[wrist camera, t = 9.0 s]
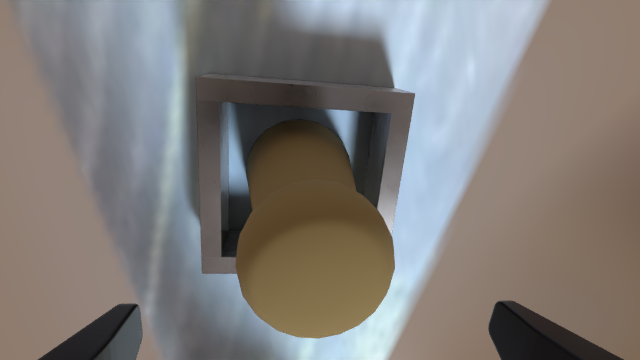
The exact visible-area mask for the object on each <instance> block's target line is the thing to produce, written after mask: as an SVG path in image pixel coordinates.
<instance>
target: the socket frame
mask: <svg viewBox="0 0 640 360" xmlns="http://www.w3.org/2000/svg"><path fill="white" fill-rule="evenodd" d="M414 98H415V93H411V92H408V91H404V90H400V89H397V88H389V87H376V86H363V85H350V84H338V83H325V82H312V81H300V80H287V79H274V78H261V77H249V76H236V75H223V74H211V73H208V74H204V75H200V76H196V104H197V135H198V165H199V196H200V226H201V256H202V273H206V274H237V271H236V267H235V262H236V254H237V246H238V240H239V236H240V233H241V231H242V230H229V143H228V102H231V103H246V104H261V105H276V106H290V107H305V108H320V109H334V110H349V111H364V112H374V117H373V125H372V132H371V140H370V148H369V155H368V163H367V170H366V178H365V185H364V193H363V196H364V197H365V198H366V199H367V200H368V201H369V202H370V203H371V204H372V205H373V206H374V207H375V208H376V209H377V210H378V211H379V212H380V214H381V215H382V217H383V218H384V221H385V223H386V225H387V227H388V229H389V231H390V234H392V228H393V223H394V217H395V211H396V205H397V199H398V193H399V187H400V181H401V175H402V169H403V163H404V157H405V151H406V145H407V139H408V133H409V127H410V121H411V115H412V110H413V104H414Z"/></svg>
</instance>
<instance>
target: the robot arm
mask: <svg viewBox="0 0 640 360" xmlns="http://www.w3.org/2000/svg"><path fill="white" fill-rule="evenodd" d="M489 334H490V337H491V339H492V341H493V343H494V345H495V347H496V349H497V352H498V354H499V356H500V358H501V360H623V359H622V358H620V357H618V356H616V355H614V354H612V353H610V352H608V351H606V350H604V349H603V348H601V347H599V346H597V345H595V344H593V343H591V342H589V341H588V340H586V339H584V338H582V337H580V336H578V335H576V334H575V333H573V332H571V331H569V330H567V329H565V328H563V327H561V326H559V325H558V324H556V323H554V322H552V321H550V320H548V319H546V318H545V317H543V316H541V315H539V314H537V313H535V312H533V311H531V310H529V309H527V308H526V307H524V306H522V305H520V304H518V303H516V302H514V301H498V302H497V303H496V304H495V306H494V309H493V312H492V315H491V319H490V322H489ZM141 341H142V323H141V313H140V307H139V305H137V304H119V305H117V306H115V307H114V308H112V309H111V310H109V311H108V312H106V313H105V314H103V315H102V316H101V317H99V318H98V319H96V320H95V321H93V322H92V323H90V324H89V325H87V326H86V327H85V328H83V329H82V330H80V331H79V332H77V333H76V334H74V335H73V336H72V337H70V338H68V339H67V340H66V341H64V342H63V343H61V344H60V345H58V346H57V347H55V348H54V349H53V350H51V351H50V352H48V353H47V354H45V355H44V356H42V357H41V358H39V359H38V360H136V357H137V354H138V351H139V347H140V344H141Z"/></svg>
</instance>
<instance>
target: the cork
mask: <svg viewBox="0 0 640 360" xmlns="http://www.w3.org/2000/svg"><path fill="white" fill-rule="evenodd" d="M246 173H247V180H248V186H249V192H250V199H251V205H252V212H251V213H250V215H249V217H248V219H247V221H246V223H245V225H244V227H243V229H242V231H241V233H240V236H239V240H238V246H237V254H236V262H235V267H236V271H237V275H238V279H239V283H240V287H241V291H242V294H243V297H244V298H245V300H246V301H247V302H248V304H249V305H250V307H251V308H252V309H253V311H254V312H255V314H257V315H258V316H259V317H260V318H261V319H262V320H264V321H265V322H266V323H268V324H269V325H271V326H272V327H273V328H275V329H276V330H278V331H280V332H283V333H286V334H289V335H292V336H295V337H304V338H323V337H328V336H333V335H338V334H341V333H343V332H345V331H347V330H350V329H352V328H354V327H356V326H358V325H360V324H361V323H362V322H363V321H364V320H365V319H367V318H368V317H369V316H370V315H371V314H373V313H374V312H375V311H376V309H377V308H378V306H379V305H380V303H381V302H382V300H383V299H384V297H385V296H386V294H387V291H388V289H389V287H390V283H391V280H392V276H393V273H394V269H395V261H394V247H393V240H392V236H391V234H390V231H389V229H388V227H387V225H386V223H385V221H384V218H383V217H382V215H381V214H380V212H379V211H378V210H377V209H376V208H375V207H374V206H373V205H372V204H371V203H370V202H369V201H368V200H367V199H366V198H365V197H364V196H363V195H362V194H360V193H358V192H357V191H356V186H355V182H354V177H353V173H352V169H351V164H350V160H349V155H348V153H347V151H346V149H345V147H344V145H343V142H342V141H341V140H340V139H339V138H338V137H337V136H336V134H335V133H334V132H333V131H332V130H331V129H329V128H327V127H325V126H323V125H321V124H319V123H317V122H314V121H307V120H301V119H297V120H291V121H284V122H281V123H279V124H277V125H275V126H273V127H271V128H269V129H267V130H266V131H265V132H264V133H263V134H262V135H261V136H260V137H259V138H258V139H257V140H256V141H255V143H254V145H253V147H252V149H251V151H250V153H249V155H248V162H247V170H246Z"/></svg>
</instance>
